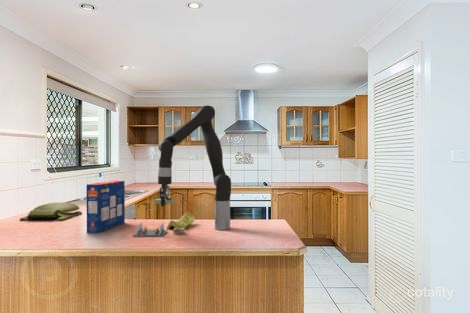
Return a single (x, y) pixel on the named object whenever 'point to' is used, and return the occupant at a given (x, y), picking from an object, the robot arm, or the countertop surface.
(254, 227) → the countertop surface
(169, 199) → the board
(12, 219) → the countertop surface
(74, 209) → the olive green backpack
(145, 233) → the chassis
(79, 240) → the countertop surface
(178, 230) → the block
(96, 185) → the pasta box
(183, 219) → the plastic component
